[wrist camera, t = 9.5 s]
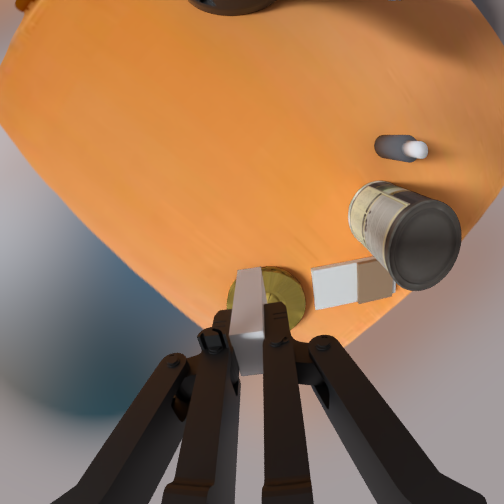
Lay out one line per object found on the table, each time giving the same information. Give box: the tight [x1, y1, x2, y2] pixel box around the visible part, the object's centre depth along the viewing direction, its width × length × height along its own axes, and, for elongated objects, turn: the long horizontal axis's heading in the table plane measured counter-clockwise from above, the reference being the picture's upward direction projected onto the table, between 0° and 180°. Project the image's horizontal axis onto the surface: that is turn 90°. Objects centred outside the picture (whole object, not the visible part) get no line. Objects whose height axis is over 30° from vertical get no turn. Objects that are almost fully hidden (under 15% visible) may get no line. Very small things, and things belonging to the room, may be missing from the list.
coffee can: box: [348, 181, 461, 291], centre depth 31 cm, size 10×10×14 cm
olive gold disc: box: [227, 266, 306, 330], centre depth 43 cm, size 12×12×2 cm
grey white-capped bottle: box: [374, 135, 428, 162], centre depth 30 cm, size 3×3×10 cm
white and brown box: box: [311, 256, 396, 310], centre depth 41 cm, size 7×14×2 cm, turn 101°
